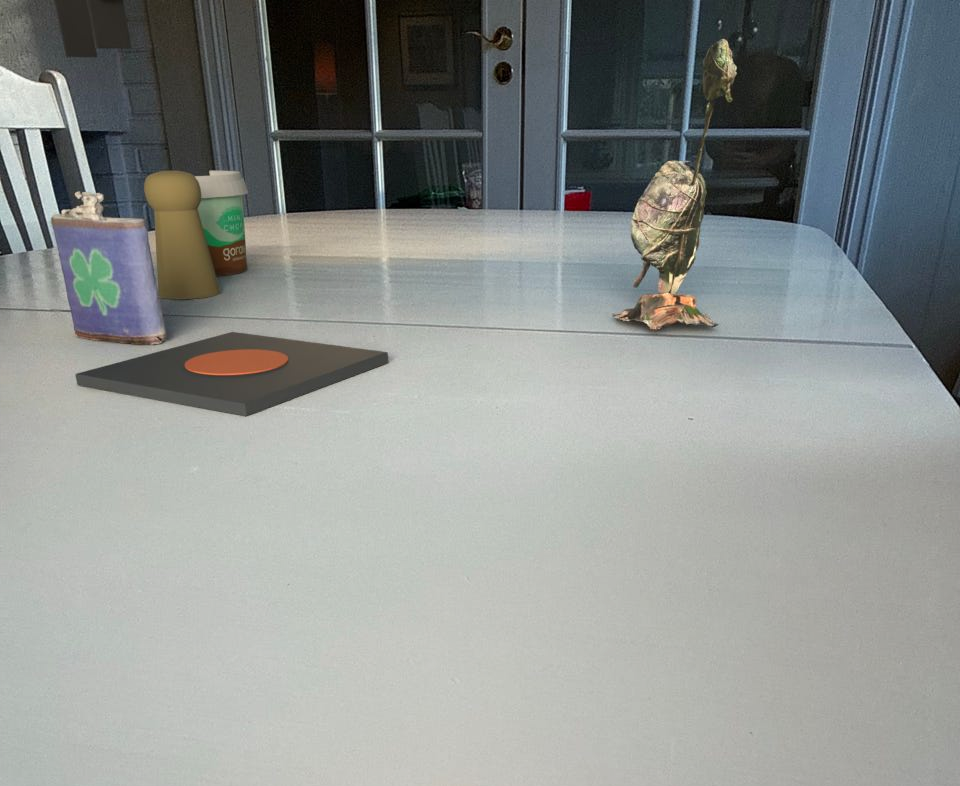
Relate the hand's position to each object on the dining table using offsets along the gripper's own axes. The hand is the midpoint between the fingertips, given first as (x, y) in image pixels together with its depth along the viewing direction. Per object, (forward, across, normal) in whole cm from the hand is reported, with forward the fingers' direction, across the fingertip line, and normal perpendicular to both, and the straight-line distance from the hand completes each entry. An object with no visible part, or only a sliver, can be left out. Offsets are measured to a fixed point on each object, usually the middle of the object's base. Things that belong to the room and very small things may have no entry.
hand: (97, 53), depth 80 cm
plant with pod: (+21, -40, -33) cm, 56 cm away
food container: (+21, +10, -12) cm, 26 cm away
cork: (+21, -3, -4) cm, 21 cm away
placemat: (+20, -37, +3) cm, 42 cm away
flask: (+21, -20, +7) cm, 30 cm away
